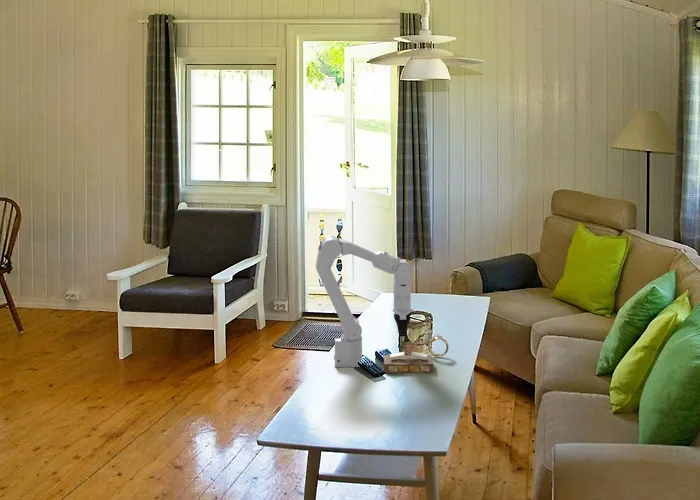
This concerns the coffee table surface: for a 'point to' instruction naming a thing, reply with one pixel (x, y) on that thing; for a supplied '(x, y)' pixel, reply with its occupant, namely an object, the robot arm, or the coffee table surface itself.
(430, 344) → the ring
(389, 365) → the switch box
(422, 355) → the rocker right
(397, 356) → the block
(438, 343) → the coffee table surface
